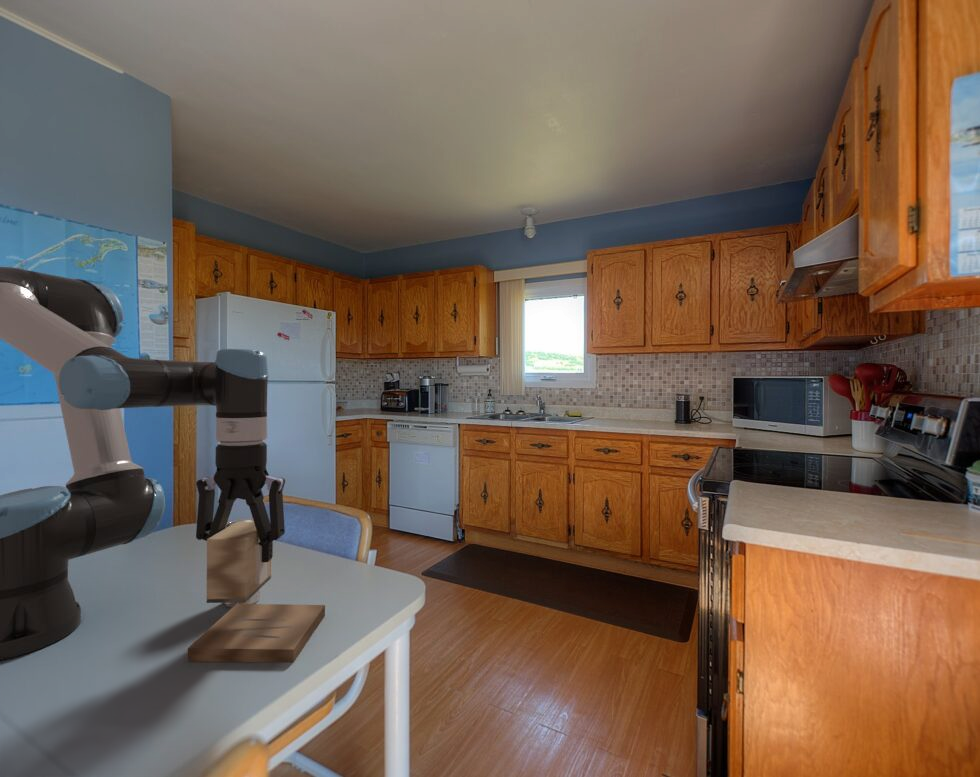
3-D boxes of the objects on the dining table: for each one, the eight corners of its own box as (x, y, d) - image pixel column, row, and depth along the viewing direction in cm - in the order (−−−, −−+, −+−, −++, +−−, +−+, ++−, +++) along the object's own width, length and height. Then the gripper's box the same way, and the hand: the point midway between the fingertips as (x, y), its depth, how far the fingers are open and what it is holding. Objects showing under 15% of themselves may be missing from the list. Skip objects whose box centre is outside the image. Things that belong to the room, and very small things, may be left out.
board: (187, 661, 69) (187, 648, 69) (236, 614, 83) (236, 603, 83) (293, 662, 70) (293, 649, 70) (324, 615, 84) (325, 604, 84)
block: (206, 602, 72) (206, 539, 72) (236, 578, 81) (236, 521, 81) (245, 602, 72) (245, 539, 72) (270, 578, 81) (271, 521, 81)
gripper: (168, 444, 72) (167, 590, 72) (290, 445, 73) (288, 591, 73) (197, 439, 80) (196, 571, 80) (308, 440, 80) (306, 571, 80)
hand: (240, 580), depth 76 cm, fingers closed on block, 6 cm apart
